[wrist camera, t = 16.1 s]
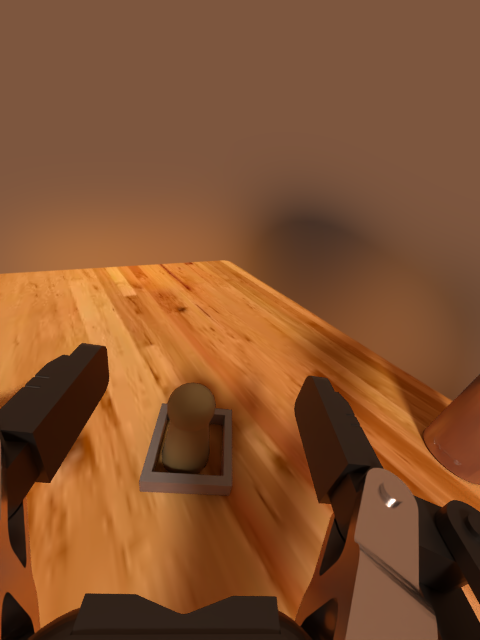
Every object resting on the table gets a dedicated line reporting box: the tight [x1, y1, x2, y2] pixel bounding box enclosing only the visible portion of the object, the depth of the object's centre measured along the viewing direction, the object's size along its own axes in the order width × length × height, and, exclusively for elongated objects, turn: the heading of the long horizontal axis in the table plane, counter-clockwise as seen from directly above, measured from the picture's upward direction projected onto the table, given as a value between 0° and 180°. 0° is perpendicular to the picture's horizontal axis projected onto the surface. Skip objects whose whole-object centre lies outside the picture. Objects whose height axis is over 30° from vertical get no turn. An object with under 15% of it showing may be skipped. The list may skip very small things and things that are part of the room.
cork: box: [162, 383, 216, 474], centre depth 28 cm, size 6×6×11 cm
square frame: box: [139, 403, 232, 496], centre depth 31 cm, size 10×10×2 cm
